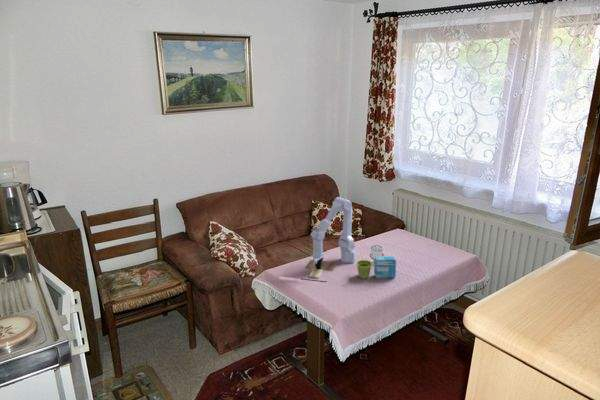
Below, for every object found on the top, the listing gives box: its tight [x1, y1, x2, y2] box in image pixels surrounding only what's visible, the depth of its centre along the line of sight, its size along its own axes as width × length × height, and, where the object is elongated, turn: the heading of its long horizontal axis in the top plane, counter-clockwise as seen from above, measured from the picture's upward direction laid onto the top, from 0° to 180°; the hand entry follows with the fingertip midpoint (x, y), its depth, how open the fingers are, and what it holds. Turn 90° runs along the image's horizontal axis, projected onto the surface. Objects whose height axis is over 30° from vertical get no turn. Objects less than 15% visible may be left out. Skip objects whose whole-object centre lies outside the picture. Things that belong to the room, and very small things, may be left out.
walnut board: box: [304, 259, 338, 272], centre depth 263 cm, size 18×13×2 cm
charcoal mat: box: [301, 278, 328, 283], centre depth 251 cm, size 16×12×1 cm
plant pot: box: [355, 259, 373, 279], centre depth 248 cm, size 9×9×9 cm
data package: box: [373, 256, 397, 279], centre depth 247 cm, size 12×4×12 cm, turn 89°
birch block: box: [308, 269, 324, 280], centre depth 251 cm, size 6×10×2 cm, turn 163°
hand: (318, 269), depth 256 cm, fingers closed
